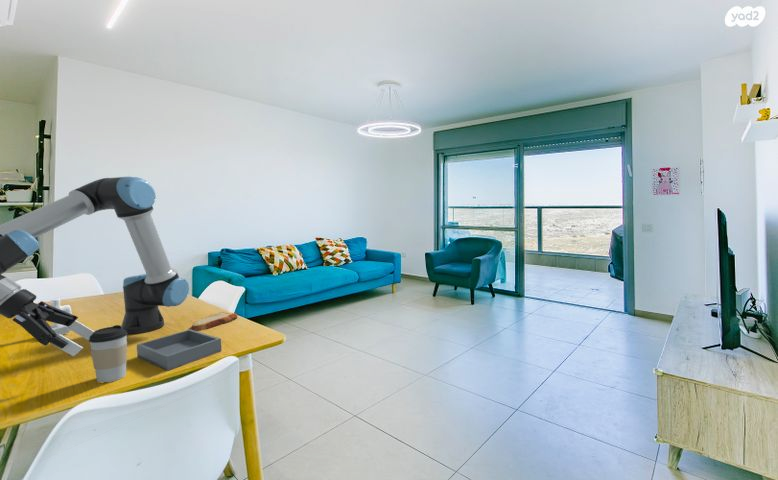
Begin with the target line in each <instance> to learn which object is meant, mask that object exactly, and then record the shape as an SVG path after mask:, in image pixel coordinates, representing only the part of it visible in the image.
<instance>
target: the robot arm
mask: <svg viewBox="0 0 778 480" xmlns="http://www.w3.org/2000/svg"><path fill="white" fill-rule="evenodd" d="M155 200H156V192H155V189H154V188H153V186H152V185H151V184H150V182H148V180H145V179H144V178H141V177H137V176H134V177H133V176H119V177H118V176H117V177H104V178H99V179H96V180H94V181H91V182H88V183H86V184H84V185H82V186H80V187H77V188H75V189H72V190H71V191H69V192H68V195H67V196H64V197H61V198H60V199H57V200H55V201H53V202H50V203H48V204H45V205H44V206H41V207H38V208H36V209H34V210H32V211H30V212H27V213H25V214H22V215H19V216H18V217H15V218H13V219H10V220H8V221H6V222H4V223H2V224H0V315H1V316H2V317H4V318H7V319H12V321H13V322H14V323H16V324H17V325H19V326H20V327H21V328H23V329H24V330H25V331H26V332H28V333H27V334H29V335H31V337H33V339H35V340H36V341H37V342H38V343H40V344H41V345H43V346H48V345H49V344H51V345H52V346H55V347H56V348H58V349H59V350H62V351H63V352H65V353H67V354H69V355H71V356H72V357H75V356H76V355H77V354H78V353H79V352H81V350H83V349H84V347H83V346H82V345H79V344H78V343H77V342H74V341H73V340H71V339H69V338H68V337H66V336H65V335H61V334H59V335H58V336H57V334H56V333H55V332H54V330H53V329H52V328H51V327H50V326H51V325H50V324H49V323H48V322H51V323H52V324H53V323H57V324H61V325H64V326H69V327H68V329H70V331H71V332H73V333H75V334H77V335H79V336H80V337H82V338H84V339H85V340H87V341H89V339H90V336H91V335H92V334H93V333H94V331H95V330H93V329H91V328H90V327H88V326H87V325H85V324H83V323H82V322H81V321H78V319H79V317H78V315H74V314H73V313H72V314H70V313H67V312H65V311H62V310H60V309H57V308H55V307H52V306H51V304H48V303H46V302H45V301H42V300H40V301H39V302H38V303H35V302H34V301H35V300H36V299H37V295H36V294H34V293H32V292H31V291H29V290H27V289H26V288H23V289H22V286H21V285H20V284H18V283H16V282H15V281H13V280H12V279H10V278H8V277H7V276H5V275H3V274H4V273H6V272H7V271H9V270H10V269H12V268H13V267H15V266H16V265H18V264H19V263H21V262H22V261H24V260H25V259H27V258H28V257H30V256H31V255H33V254H34V253H35V252H36V251H39V248H40V243H39V241H38V240H37V239H36V238H38V237H40V236H42V235H45V234H46V233H49V232H51V231H52V230H54V229H57V228H59V227H61V226H62V225H65V224H67V223H69V222H71V221H73V220H75V219H77V218H79V217H81V216H83V215H88V216H89V215H93V214H95V213H97V212H99V211H100V212H101V211H105V210H114V212H115V214H116V217H117V218H118V219H119V220H120V219H121V220H122V221H123V222H124V223H125V226H126V228H127V230H128V232H129V235H130V238H131V240H132V242H133V245H134V247H135V249H136V252H137V254H138V257H139V260H140V262H141V265H142V266H143V269H144V271H145V273H144V274H143V273H142V274H137V275H132V276H127V277H126V278H124V279H123V282H122V283H123V285H122V290H123V299H124V300H123V302H124V315H123V319H122V323H121V325H120V326H121V327H122V328H123V329H125V330H126V331H127V335H129V334H130V335H132V334H134V335H135V334H142V333H147V332H151V331H155V330H158V329H160V328H162V327H164V326H165V319H164V317H163V315H162V312H161V311H160V308H159V306H160V307H166V308H169V307H177V306H180V305H181V304H182V303H184V301H186V300H187V297H188V295H189V291H190V286H189V282H188V281H187V279H186V278H185V279H184V278H183V277H180V276H179V274H178V271H177V270H176V269H174V268H172V266H171V265H170V262H169V260H168V256H167V253H166V251H165V248H164V246H163V244H162V240H161V238H160V235H159V233H158V231H157V228H156V227H157V226H156V225H155V223H154V220H153V218H152V215H151V214H152V212H153V211H154V207H153V206H154V204H155V202H156V201H155Z"/></svg>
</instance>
